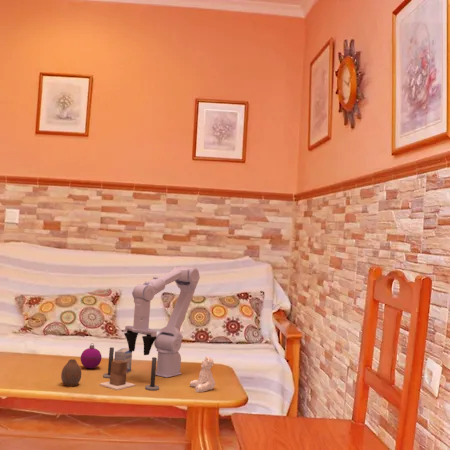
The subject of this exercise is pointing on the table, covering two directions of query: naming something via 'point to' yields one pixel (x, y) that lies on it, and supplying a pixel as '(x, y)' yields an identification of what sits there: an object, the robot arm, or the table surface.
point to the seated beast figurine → (204, 377)
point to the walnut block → (118, 372)
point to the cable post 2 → (152, 377)
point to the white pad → (107, 384)
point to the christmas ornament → (91, 357)
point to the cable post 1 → (111, 352)
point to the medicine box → (124, 357)
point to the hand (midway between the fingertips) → (139, 353)
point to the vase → (71, 373)
